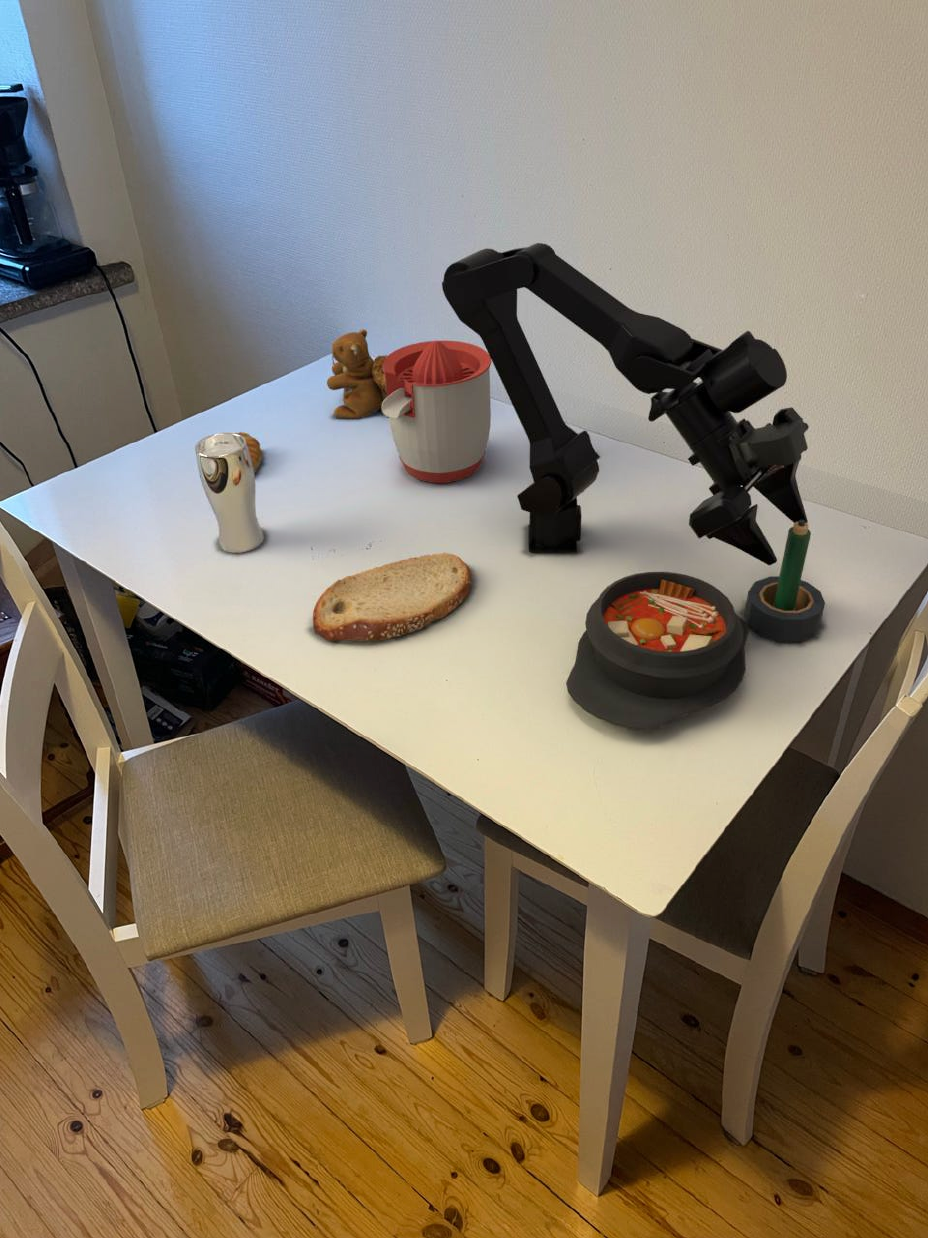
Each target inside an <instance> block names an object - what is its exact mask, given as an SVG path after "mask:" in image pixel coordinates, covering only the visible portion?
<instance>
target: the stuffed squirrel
mask: <svg viewBox="0 0 928 1238" xmlns="http://www.w3.org/2000/svg"><path fill="white" fill-rule="evenodd" d="M367 336H368V331H367V330H366V329H364V328H363V329H361V330H359V331H358V332H356V331H354V332H348V333H346V334H343V335H341V336H339V337H338V338H337V339H336V340H334V342H333V343H332V344H331V360H332V363H331V365H332V366H331V373H332V374H333V375H331V376H330V377H329V378H328V379H327V380H326V386H327V388H328V389H329V390H330V391H331V390H332V391H337V390H341V389H343V395H342V398H343V399H342V402H343V404H342V405H339V406H337V407H336V408H335V409H334V410H333V416H334V417H335V418H338V419H361V418H365V417H368V416H370V415H373V414H374V413H376V412H377V411H378V410H379V411H380V412H382V403H383V401H384V400H385V399H386V398H387V392H386V382H385V373H384V370H383V362H384V360H385V358H386V357H387V356H388V355H387V354H386V355H378V356H376V357H375V358H374V359H373V358H372V356H371V355H370V352H369V345H368V341H367ZM335 361H336V362H335Z"/></svg>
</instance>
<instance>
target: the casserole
mask: <svg viewBox="0 0 928 1238" xmlns="http://www.w3.org/2000/svg"><path fill="white" fill-rule="evenodd" d="M584 623H585V624H584V625H585V631H584V632H583V633H582V635H581V637H580V639H579V641H578V644H577V649H576V656H575V663H574V665H573V666H572V669H571V671H570V673H569V675H568V678H567V679H566V683H565V684H566V690H567V693H568V695H569V696H570V697H571V698H572V700H573V701H574V702H575V704H577V705H578V706H579V707H581V708H582V709H583V710H584V711H585V712H587V713H589V714H590V715H592V716H594V717H595V718H596V719H599V720H602V721H604V722H606V723H609V724H611V725H613V726H618V727H622V728H625V729H629V730H635V731H650V730H651V731H652V730H659V729H661V728H662V727H665V726H667V725H669V724H671V723H673V722H675V721H677V720H678V719H681V718H682V717H683V716H686V715H690V714H693V713H696V712H700V711H702V710H705V709H709V708H711V707H714V706H716V705H718V704H720V703H721V702H724V701H725V700H727V699H728V698H729V697H730V696H732V694H734V693H735V692H736V691H737V690H738V688H739V687H740V685H741V683H742V682H743V680H744V677H745V673H746V653H745V648H746V645H747V641H748V638H749V633H750V628H749V627H748V625H747V622H746V620H744V619H743V618H742V617H741V616H740V615H739V614H737V613H736V611H735V608H734V605H733V603H732V602H731V601H730V600H729V598H728V596H726V595H725V594H724V593H723V592H722V591H721V590H720V589H718V588H717V587H715V586H714V585H712V584H711V583H709V582H706V581H704V580H703V579H700V578H698V577H694V576H691V575H688V574H683V573H679V572H670V571H646V572H639V573H633V574H630V575H626V576H624V577H621V578H619V579H616V580H615V581H614V582H612V583H610V584H609V585H607V586H606V588H605V589H603V590H602V592H601V593H600V594H599V596H598V597H597V599H596V600H595V601H594V602H593V603H592V604H591V605H590V607H589V609H588V611H587V613H586V617H585V622H584Z"/></svg>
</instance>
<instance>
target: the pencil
mask: <svg viewBox="0 0 928 1238" xmlns="http://www.w3.org/2000/svg"><path fill="white" fill-rule="evenodd" d="M809 526H810V525H809V523H805V521H804V520H799V521H798V522H795V523H794V522H793V525H792V526H791V527H789V529H788V532H787V536H786V541H785V545H784V550H783V556H782V561H781V566H780V571H779V574H778V576H779V580H778V585H777V590H776V595H775V600H774V603H773V607H774V608H777V609H781V610H784V611H795V604H796V600H797V595H798V591H799V586H800V581H801V580H802V577H803V572H804V567H805V562H806V559H807V553H808V549H809V544H810V540H811V535H812V532H811V530H810V529H809Z"/></svg>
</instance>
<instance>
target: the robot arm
mask: <svg viewBox="0 0 928 1238" xmlns="http://www.w3.org/2000/svg"><path fill="white" fill-rule="evenodd" d="M441 288H442V293H443V296H444V297H445V299H446V301H447V302H448V304H449V305H450V307H451V309H452V310H453V312H454V314H455V315H456V317H457V318H458V320H459V321H460V322H461V323H463V324H464V325H465V326H466V327H468V328H469V329H470V330H471V331H473V332H474V333H475V334H477V335H478V336H479V337H480V339H481V341H482V342H483V345H484V347H485V349H486V352H487V353H488V354H489V355H490V358H491V363H492V365H493V366H494V368H495V370H496V373H497V375H498V377H499V379H500V381H501V383H502V386H503V387H504V390H505V392H506V394H507V396H508V398H509V401H510V403H511V405H512V407H513V410H514V412H515V414H516V415H517V418H518V420H519V421H520V424H521V426H522V429H523V431H524V433H525V435H526V437H527V439H528V442H529V471H530V474H531V477H532V481H533V482H532V483H531V484H530V485H528V486H527V487H526V488H525V489H523V490H522V491H521V492H519V494H517V500H518V502H519V506H520V509H521V510H522V511H524V512H527V513H529V514H528V517H529V518H528V519H529V520H528V521H529V524H528V532H527V533H528V534H527V535H528V536H527V537H528V539H527V540H528V543H527V546H528V549H527V550H528V552H529V553H577V552H578V542H580V540H581V539H582V506H581V505H580V504H578V497H579V496H580V495H581V494H583V493H584V492H585V491H586V490H587V489H588V488H589V487H590V486H592V485H593V484H594V482H595V481H597V479H598V478H597V477H598V475H599V473H600V466H599V465H600V464H599V462H598V460H599V459H600V458H601V455H600V454H599V453H598V452H597V451H596V449H595V448H594V446H593V444H592V440H591V436H590V434H589V433H588V431H587V430H582V431H581V432H576V431H575V430H574V429H572V428H571V427H569V425H567V424H566V422H565V421H564V419H563V416H562V414H561V412H560V410H559V407H558V406H557V403H556V401H555V399H554V396H553V394H552V392H551V390H550V387H549V385H548V383H547V381H546V379H545V377H544V375H543V372H542V370H541V368H540V366H539V363H538V361H537V358H536V356H535V354H534V352H533V350H532V348H531V345H530V344H529V341H528V339H527V337H526V335H525V333H524V330H523V328H522V325H521V324H520V322H519V318H518V290H519V289H524V288H525V289H527V290H529V292H531V293H532V294H533V295H535V296H536V297H538V298H539V299H540V300H542V301H543V302H544V303H545V304H547V305H548V306H549V307H551V308H552V309H553V310H555V311H556V312H558V313H559V314H560V315H562V317H564V318H565V319H567V320H568V321H569V322H571V323H572V324H573V325H575V326H576V327H577V328H579V329H580V330H582V331H583V332H584V333H586V334H587V335H588V336H589V337H591V338H592V339H593V340H595V341H596V342H598V343H599V344H600V345H602V347H603V348H604V349H605V350H606V351H607V353H608V354H609V356H610V358H611V360H612V362H613V365H614V367H615V369H616V370H617V371H619V373H620V374H621V375H622V376H623V377H624V378H625V379H626V380H627V381H628V382H629V383H630V384H631V386H633V387H634V388H635V389H636V390H638V391H639V392H641V393H643V394H647V395H651V394H654V395H652V396H651V397H650V409H649V412H648V416H647V419H648V421H649V422H652V423H653V422H655V421H656V420H658V419H659V418H661V417H663V416H664V415H666V417H667V419H669V421H670V422H671V424H672V425H673V427H674V428H675V430H676V431H677V432H678V434H679V435H680V437H681V438H682V440H683V441H684V442H685V443H686V445H687V446H688V448H689V449H690V451H691V452H692V454H691V455H690V456H689V457H688V458H687V460H688V462H689V463H690V464H691V466H692V467H694V466H695V465H697V464H699V463H700V465H701V466H702V467H703V469H704V470H705V472H706V474H707V475H708V476H709V477H710V479H711V480H712V482H713V483H712V484H711V485H710V486H709V487H708V490H709V491H710V493H711V494H712V495H711V496H710V497H708V498H706V499H704V500H702V501H701V502H700V504H699V505H697V507H696V508H694V510H692V512H691V513H690V514H689V519H688V520H689V521H688V526H689V527H690V529H691V530H692V531H693V533H694V534H695V535H696V537H697V538H698V539H701V538H703V537H706V538H707V539H708V540H711V539H713V538H714V539H716V540H718V541H721V542H723V543H725V544H727V545H730V546H731V547H733V548H736V549H738V550H739V551H742V552H744V553H746V555H749V556H751V557H753V558H755V559H756V560H758V561H760V562H762V563H764V564H765V565H768V566H772V565H775V564H777V562H778V558H777V556H776V554H775V551H774V550H773V548H772V545H771V544H770V543H769V541H768V539H767V538H766V536H765V534H764V532H763V531H762V529H761V527H760V525H759V524H758V522H757V513H758V508H759V507H758V503H755V504H754V505H752V504H753V503H752V496H751V495H750V493H749V492H750V491H751V490H752V488H754V489H755V490H757V492H759V494H761V495H762V496H763V497H764V498H765V499H766V500H767V501H768V502H770V504H772V506H774V507H775V508H776V509H778V510H779V512H781V513H782V515H784V516H785V517H786V518H787V519H789V520H790V521H791V522H792V523H793V524H794V523H795V522H798V521H799V520H804V521H805V523H807V524H809V523H808V522H809V521H808V520H809V519H808V517H807V513H806V509H805V507H804V504H803V500H802V497H801V493H800V489H799V486H798V482H797V477H796V476H797V471H798V467H799V464H800V462H801V460H802V454H803V453H804V452H806V451H807V450H808V449H809V447H808V443H807V439H806V435H805V433H806V432H807V431H808V430H809V424H808V423H807V422H805V421H804V419H803V417H801V416H800V414H799V413H798V412H797V411H796V410H795V409H794V408H793V407H791V406H790V407H785V408H781V409H779V410H778V411H777V412H776V413H775V414H774V416H773V419H772V423H771V422H769V423H768V422H767V423H766V425H764V426H761V427H757V428H755V427H754V425H752V423H751V421H750V420H747V419H745V418H742V419H740V420H739V421H737V419H736V418H735V416H733V414H740V413H742V412H744V411H746V410H747V409H749V408H751V407H752V406H754V405H755V404H757V403H759V402H760V401H761V400H763V399H764V398H766V397H768V396H769V395H771V394H772V393H774V392H776V391H778V390H779V389H781V388H783V387H784V386H785V385H786V382H787V378H788V372H787V368H786V365H785V361H784V360H783V358H782V356H781V354H780V353H779V351H778V350H777V349H776V348H773V347H772V346H771V345H770V344H768V343H767V342H766V341H764V340H762V339H758V338H755V337H754V335H753V334H752V332H751V331H750V330H746V331H745V332H743V333H741V335H739V336H737V338H735V339H734V340H733V341H732V342H731V343H730V344H729V345H728V346H726V347H725V348H724V349H721V348H719V347H717V346H714V345H711V344H708V343H705V342H702V341H700V340H697V339H695V338H692V336H691V335H690V334H689V333H688V332H687V331H686V330H684V329H683V328H681V327H680V326H678V325H676V324H673V323H671V322H669V321H668V320H667V321H666V320H665V319H663V318H661V317H658V316H655V315H649V314H645V313H640V312H638V311H636V310H634V309H632V308H630V307H628V306H627V305H626V304H624V303H623V302H621V301H620V300H618V299H617V298H616V297H615V296H613V295H612V294H610V293H609V292H607V290H605V289H604V288H602V287H601V286H600V285H598V284H597V283H596V282H594V281H593V280H591V278H589V277H587V276H586V275H584V273H582V272H580V271H579V270H578V269H576V268H575V267H573V265H571V264H570V263H568V262H567V261H565V260H564V259H563V258H562V257H560V256H559V255H557V254H556V252H555V250H554V249H553V248H552V247H551V245H549V244H546V243H542V242H535V243H533V244H530V245H529V246H525V247H524V246H523V247H518V248H517V247H516V248H513V249H509V250H505V251H502V252H499V251H498V250H495V249H493V248H483V249H480V250H478V251H476V252H474V253H472V254H470V255H468V256H466V257H465V256H464V258H460V260H457V261H455V262H452V263H451V264H450V265H449V266H447V267H446V269H445V272H444V274H443V280H442V282H441ZM698 378H699V379H700V380H701V381H699V382H695V381H696V380H697V379H698ZM665 390H670V391H665ZM732 413H733V414H732Z"/></svg>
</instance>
